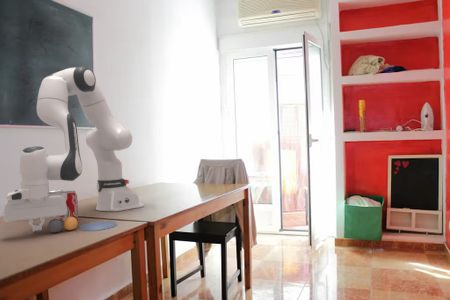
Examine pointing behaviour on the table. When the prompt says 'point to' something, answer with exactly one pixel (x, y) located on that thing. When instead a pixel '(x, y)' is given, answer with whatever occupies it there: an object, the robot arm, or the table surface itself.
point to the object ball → (70, 223)
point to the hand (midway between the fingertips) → (37, 230)
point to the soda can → (71, 205)
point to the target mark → (98, 226)
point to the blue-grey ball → (55, 225)
